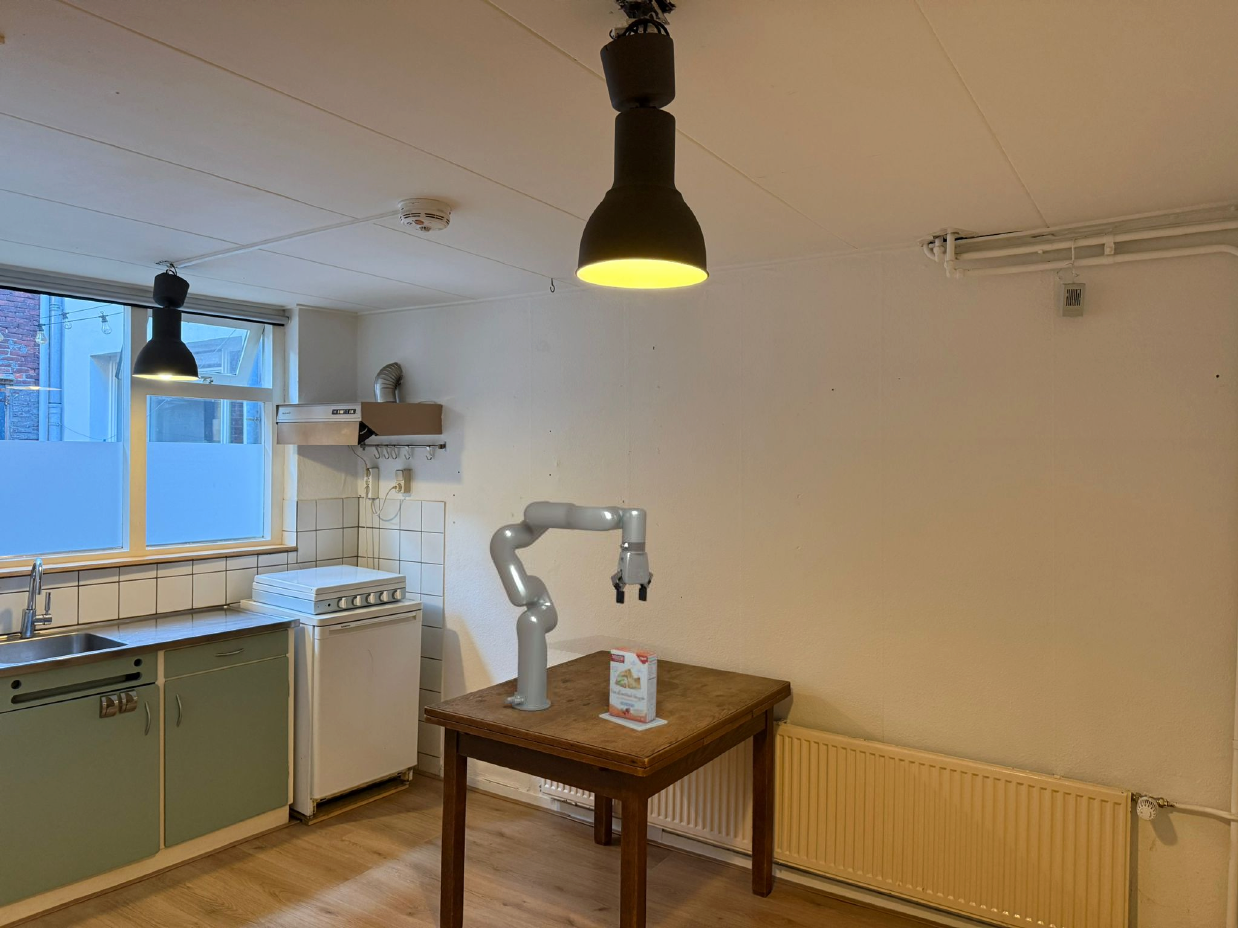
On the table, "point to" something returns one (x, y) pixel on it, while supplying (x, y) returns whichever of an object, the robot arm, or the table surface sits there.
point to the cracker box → (633, 684)
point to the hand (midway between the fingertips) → (631, 601)
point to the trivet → (633, 722)
